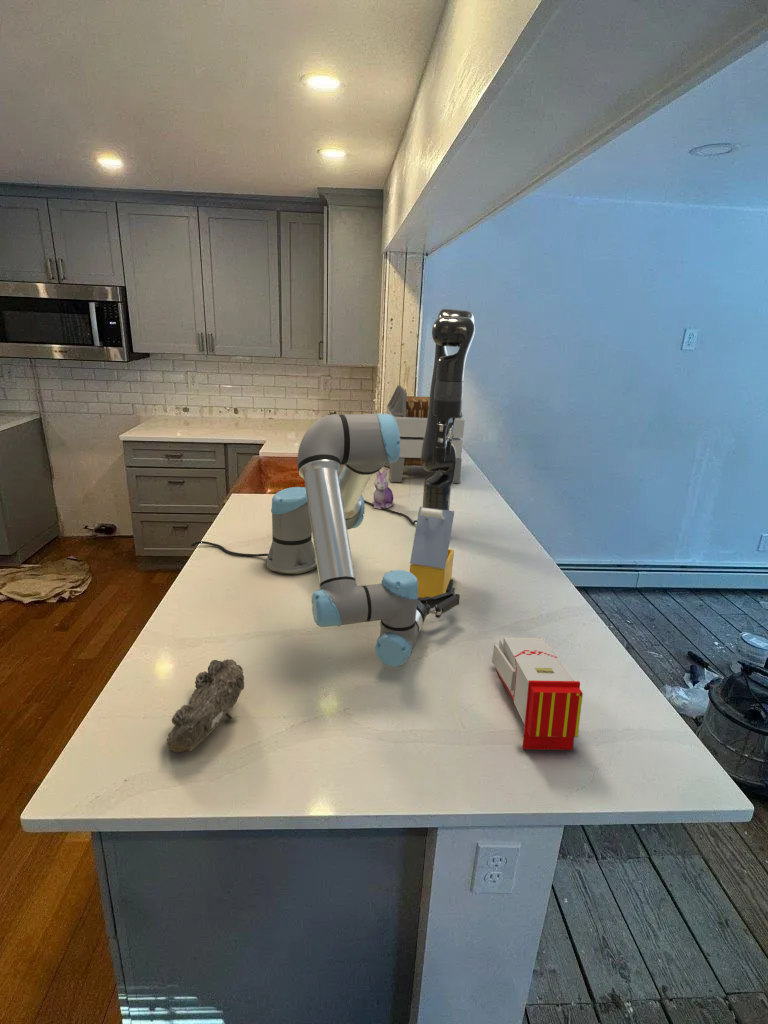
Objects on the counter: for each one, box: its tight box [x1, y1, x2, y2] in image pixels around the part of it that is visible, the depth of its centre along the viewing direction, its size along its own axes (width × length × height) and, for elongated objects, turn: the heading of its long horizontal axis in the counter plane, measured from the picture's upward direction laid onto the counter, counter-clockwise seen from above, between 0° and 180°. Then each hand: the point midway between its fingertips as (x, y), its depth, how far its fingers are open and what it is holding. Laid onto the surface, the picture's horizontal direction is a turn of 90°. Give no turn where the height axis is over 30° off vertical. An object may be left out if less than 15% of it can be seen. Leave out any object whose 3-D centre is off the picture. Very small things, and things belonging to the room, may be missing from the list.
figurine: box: [372, 468, 394, 510], centre depth 225 cm, size 9×10×15 cm
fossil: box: [166, 658, 245, 754], centre depth 106 cm, size 22×10×15 cm
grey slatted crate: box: [383, 384, 465, 484], centre depth 268 cm, size 34×33×41 cm
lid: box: [409, 506, 455, 569], centre depth 150 cm, size 16×10×9 cm
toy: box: [491, 637, 584, 751], centre depth 115 cm, size 12×13×30 cm
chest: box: [409, 548, 455, 598], centre depth 161 cm, size 15×10×10 cm, turn 164°
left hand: (426, 580), depth 152 cm, fingers open, 13 cm apart
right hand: (443, 458), depth 154 cm, fingers open, 8 cm apart
